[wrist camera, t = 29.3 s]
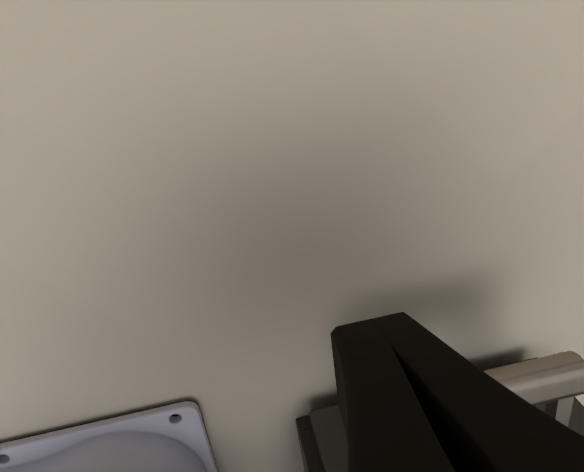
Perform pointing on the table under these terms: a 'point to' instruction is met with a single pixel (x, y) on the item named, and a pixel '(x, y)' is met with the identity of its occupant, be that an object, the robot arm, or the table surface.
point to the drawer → (517, 377)
